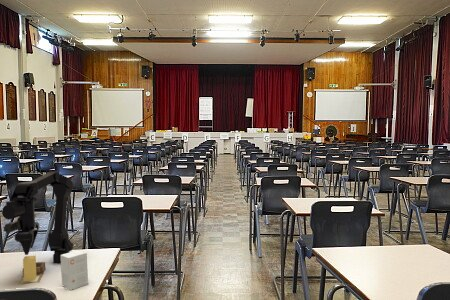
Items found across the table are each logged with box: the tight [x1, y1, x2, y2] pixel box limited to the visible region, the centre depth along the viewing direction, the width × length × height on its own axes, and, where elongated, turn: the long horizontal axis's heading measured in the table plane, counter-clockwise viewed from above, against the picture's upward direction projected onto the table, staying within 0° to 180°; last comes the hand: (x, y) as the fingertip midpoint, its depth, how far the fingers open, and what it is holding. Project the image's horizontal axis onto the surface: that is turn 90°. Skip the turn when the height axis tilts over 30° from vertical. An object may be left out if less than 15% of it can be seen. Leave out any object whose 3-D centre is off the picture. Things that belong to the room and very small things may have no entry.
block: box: [22, 255, 37, 281], centre depth 168 cm, size 4×4×9 cm
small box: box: [60, 249, 89, 291], centre depth 163 cm, size 8×6×13 cm
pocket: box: [22, 261, 47, 277], centre depth 177 cm, size 8×8×3 cm
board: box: [17, 272, 45, 286], centre depth 172 cm, size 8×17×1 cm, turn 15°
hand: (28, 251), depth 168 cm, fingers open, 9 cm apart
